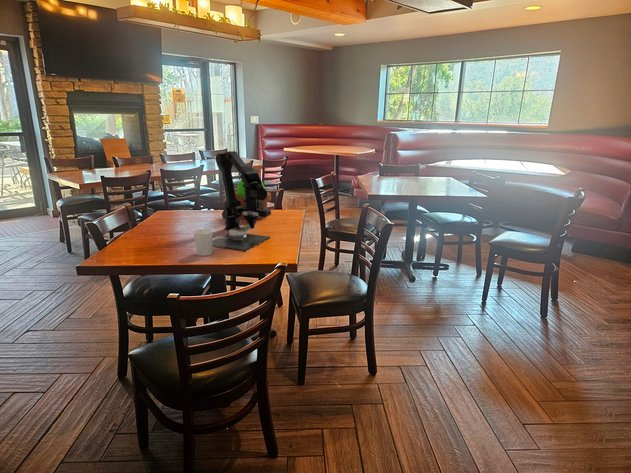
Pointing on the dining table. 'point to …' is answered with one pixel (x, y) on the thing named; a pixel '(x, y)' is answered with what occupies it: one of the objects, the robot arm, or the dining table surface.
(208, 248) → the white cup
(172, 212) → the dining table surface
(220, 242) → the lock base
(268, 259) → the dining table surface
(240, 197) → the potted cactus
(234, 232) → the teal-tipped lever
